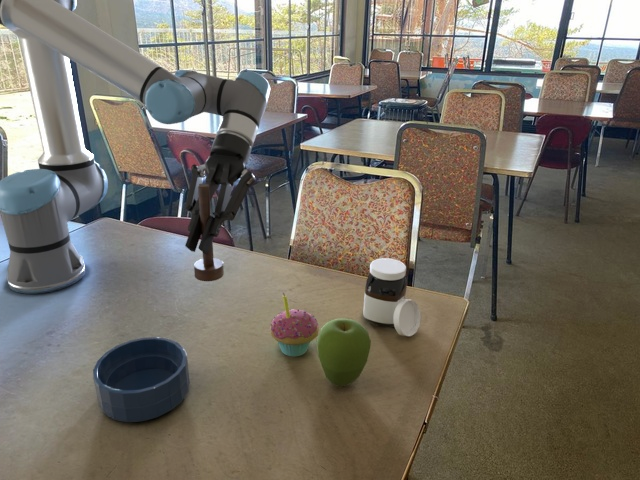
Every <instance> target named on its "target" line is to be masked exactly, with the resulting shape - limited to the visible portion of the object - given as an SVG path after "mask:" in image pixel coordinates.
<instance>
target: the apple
mask: <svg viewBox="0 0 640 480" xmlns="http://www.w3.org/2000/svg"><path fill="white" fill-rule="evenodd" d="M315 343H316V350H317V356H318V359H319V362H320V364H321V367H322V371H323V373H324V376H325V378H326V379H327V380H328V381H329V382H330V383H332V384H333V385H334V386H336V387H345V386H348V385H351V384H353V382H355V381H357V380H358V379H359V378H360V376H361V374H362V372H363V370H364V368H365V366H366V364H367V363H368V359H369V356H370V355H369V354H370V351H371V346H372V340H371V337H370V333H369V331H368V330H367V328H366V327H365V326H363V325H362V324H361V323H360V322H358V321H357V320H354V319H351V318H335V319H332V320H330V321H328V322H326V323H325V324H324V325H323V326H322V327H321V328H320V331H319V332H318V336H317V338H316V342H315Z"/></svg>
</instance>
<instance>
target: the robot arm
mask: <svg viewBox="0 0 640 480" xmlns="http://www.w3.org/2000/svg"><path fill="white" fill-rule="evenodd" d="M76 7H77V0H0V25H1V26H3V27H4V28H6V29H8V30H9V31H11V32H12V33H13V34H14V35H15V36H16V37H17V38H18V41H19V47H20V50H21V55H22V61H23V64H24V65H23V66H24V69H25V74H26V78H27V83H28V87H29V91H30V97H31V100H32V105H33V109H34V115H35V120H36V123H37V129H38V134H39V137H40V142H41V148H42V151H43V152H42V154H41V155H40V156H39V158H38V159H37V165H38V168H33V169H26V170H24V171H17V172H14V173H12V174H9V175H7V176H5V177H3V178H2V179H1V180H0V217H1V218H0V219H1V222H2V226H3V229H4V232H5V237H6V241H7V243H8V248H9V257H8V258H9V259H8V264H7V265H8V266H7V272H6V280H7V284H8V287H9V289H10V290H11V291H13V292H16V293H20V294H26V295H27V294H29V295H35V294H36V295H37V294H46V293H51V292H55V291H60V290H63V289H65V288H68V287H70V286H72V285H74V284H77V282H79V281H80V280H81V279H83V277H84V276H85V275H86V266H85V265H86V264H85V262H84V259H85V258H84V257H83V256H82V254H80V253H79V252H78V250H77V249H76V247H75V245H74V243H73V242H72V240H71V234H70V230H69V229H70V228H69V225H68V223H69V222H70V221H72V220H74V219H76V218H77V217H79V216H80V215H82V214H84V213H85V212H87V211H88V212H89V211H90V210H92V209H94V208H95V207H96V206H97V205H99V203H101V202H102V201H103V200H104V198H106V195H107V193H108V188H109V181H108V176H107V174H106V172H105V170H104V169H103V168H102V167H100V164H99V163H97V162H96V160H95V155H94V154H93V153H91V152H90V151H89V150H87V149H86V145H85V140H84V134H83V129H82V124H81V119H80V113H79V107H78V102H77V96H76V90H75V86H74V81H73V75H72V68H71V63H70V61H72V62H73V63H75V64H77V65H78V66H80V67H81V68H84V69H85V70H87V71H88V72H90V73H91V74H93V75H95V76H97V77H99V78H100V79H101V80H104V82H106V83H109V85H111V86H114V87H115V88H117V89H118V90H120V91H122V92H124V93H125V94H127V95H128V96H130V97H132V98H133V99H135V100H137V101H138V102H140V103H141V104H143V105H145V109H146V110H147V112H148V113H149V115H150V116H151V117H152V118H153V120H155V121H156V122H158V123H159V124H162V125H173V124H180V123H184V122H187V120H189V119H191V118H193V117H195V116H198V115H201V114H203V113H207V114H211V115H217V116H221V117H222V118H221V120H220V123H219V126H218V128H217V131H216V135H215V137H214V140H213V143H212V145H211V148H210V151H209V156H208V158H207V159H206V160H205V162H204V163H203V164H201V165H197V164H195V163H194V164H192V165H191V166H190V170H191V179H190V183H189V188H188V191H187V196H186V201H185V204H184V209H185V210H186V211H187V212H188V213H189V214H190V215H191V218H190V220H189V223H188V226H187V230H188V231H189V234H188V237H187V239H186V242H185V244H184V246H185V248H187V249H188V250H189V251H190V252H194V253H195V252H196V251H197V248H198V250H200V252H202V254H203V253H204V254H208V252H209V249H210V246H211V243H212V241H214V238H217V237H218V236H219V235H220V232H221V229H222V226H223V223H224V222H226V221H230V222H231V221H234V220H235V218H236V216H237V214H238V213H239V212H238V211H239V210H240V207H241V206H242V203H243V202H244V199H245V197H246V195H247V193H248V191H249V189H250V187H251V186H252V185H253V184H254V183H256V181H257V179H256V177H255V175H254V174H253V172H252V171H251V170H247V164H248V162H249V160H250V157H251V153H252V148H253V146H254V144H255V143H254V142H255V141H256V137H257V135H258V132H259V128H260V125H261V122H262V120H263V116H264V114H265V111H266V109H267V108H268V101H269V97H270V93H271V85H270V83H269V81H268V80H267V79H266V78H265V77H264V76H263V74H260V73H259V72H256V71H251V70H247V71H241V72H239V73H238V75H237V76H236V78H235V80H234V79H230V78H229V79H228V78H222V77H218V76H215V75H210V74H206V73H203V72H197V71H196V70H187V69H178V70H176V71H174V73H172V72H171V71H169V70H167V69H166V68H164V67H162V66H161V65H160V64H158V63H156V62H155V61H153V60H151V59H150V58H148V57H147V56H145V55H143V54H142V53H140V52H139V51H137V50H135V49H134V48H132V47H131V46H129V45H127V44H126V43H124V42H122V41H121V40H119V39H117V38H116V37H114V36H113V35H111V34H110V33H108V32H106V31H104V30H103V29H101V28H99V27H98V26H97V25H95V24H93V23H92V22H90V21H88V20H87V19H85V18H84V17H82V16H80V15H78V14H77V13H76V12H74V11H75V10H76ZM206 173H207V174H206ZM205 174H206V175H205ZM205 176H206V177H205ZM204 177H205V183H203V181H204ZM237 181H238V182H237ZM235 182H237V184H236V186H235ZM199 184H209V191H210V202H212V199H213V197H214V195H215V192H216V190H218V189H219V192H218V196H217V201H216V204H215V209H214V212H212V215H213V216H212V215H211V216H209V219H208V221H207V224H206V227H205V230H204V233H203V236H202V237H201V223H200V209H199V195H198V185H199ZM234 186H235V189H234ZM233 190H234V191H233ZM232 192H233V193H232ZM200 238H201V239H200ZM199 241H200V242H199Z"/></svg>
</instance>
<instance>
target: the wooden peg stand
mask: <svg viewBox="0 0 640 480" xmlns="http://www.w3.org/2000/svg"><path fill="white" fill-rule="evenodd" d="M198 195H199V209H200V223H201V236H200V238H202V236H203V233H204V230H205V227H206V224H207V221H208V219H209V216H212V209H211V201H210V191H209V184H205V183H202V184H199V185H198ZM213 241H214V240H212V243H211V246H210V249H209V252H208V254H204V253H203V252H202V258H200V259H198V260H196V261H195V262H194V263H193V272H194V278H195V279H196V280H198V281H201V282H214V281H217V280H220V279H222V278H223V277H224V274H225V271H224V261H223V260H222V259H220V258H218V257H217V258H216V257H214V243H213Z"/></svg>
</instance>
